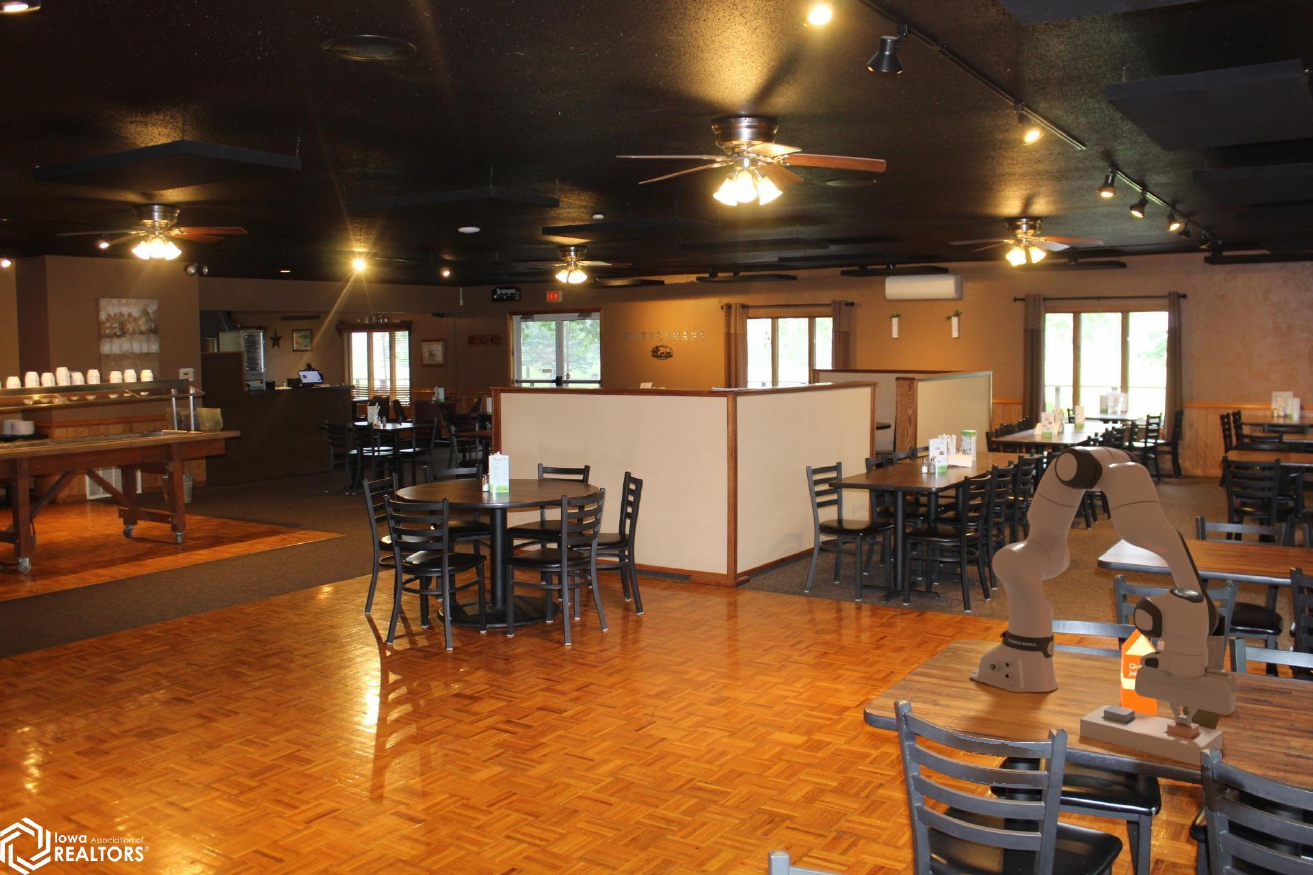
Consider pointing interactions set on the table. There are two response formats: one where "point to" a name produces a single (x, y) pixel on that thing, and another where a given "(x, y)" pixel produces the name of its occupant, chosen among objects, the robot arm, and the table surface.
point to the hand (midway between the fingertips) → (1183, 724)
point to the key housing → (1149, 736)
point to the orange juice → (1129, 666)
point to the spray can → (1217, 645)
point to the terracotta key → (1183, 730)
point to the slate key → (1119, 714)
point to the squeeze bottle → (1204, 717)
